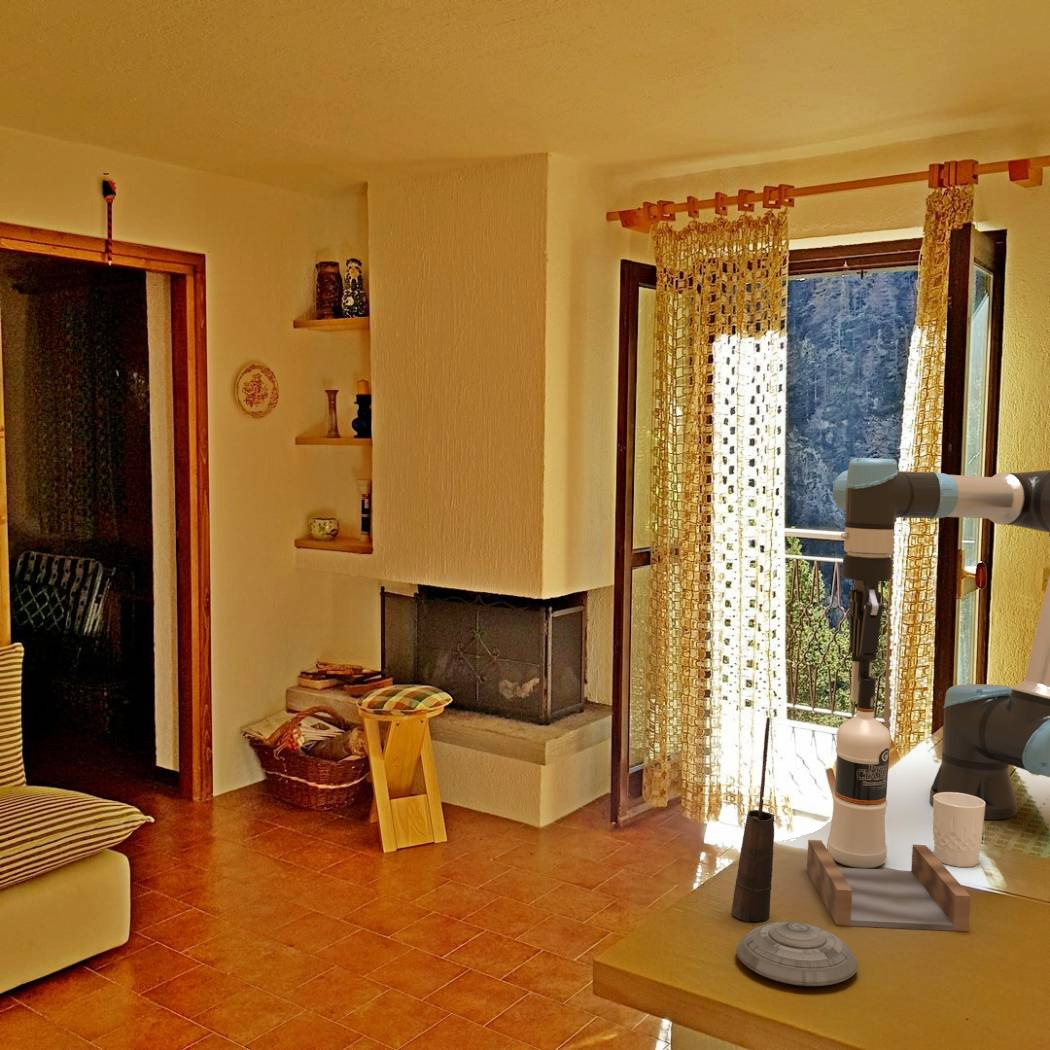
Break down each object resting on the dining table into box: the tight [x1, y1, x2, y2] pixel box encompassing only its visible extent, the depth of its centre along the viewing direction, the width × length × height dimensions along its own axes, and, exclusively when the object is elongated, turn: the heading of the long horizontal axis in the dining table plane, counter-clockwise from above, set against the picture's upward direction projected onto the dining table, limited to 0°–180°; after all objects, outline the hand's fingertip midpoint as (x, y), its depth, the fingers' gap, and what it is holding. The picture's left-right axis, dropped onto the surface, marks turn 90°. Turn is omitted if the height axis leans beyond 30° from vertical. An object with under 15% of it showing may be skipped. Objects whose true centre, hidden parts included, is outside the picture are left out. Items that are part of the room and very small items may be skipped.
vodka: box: [826, 675, 893, 869], centre depth 178 cm, size 9×9×30 cm
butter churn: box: [731, 716, 775, 923], centre depth 155 cm, size 9×10×28 cm
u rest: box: [806, 839, 971, 933], centre depth 163 cm, size 20×18×5 cm
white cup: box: [932, 792, 986, 868], centre depth 180 cm, size 8×8×10 cm
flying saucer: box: [735, 920, 859, 987], centre depth 141 cm, size 15×15×6 cm
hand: (860, 700), depth 179 cm, fingers closed
